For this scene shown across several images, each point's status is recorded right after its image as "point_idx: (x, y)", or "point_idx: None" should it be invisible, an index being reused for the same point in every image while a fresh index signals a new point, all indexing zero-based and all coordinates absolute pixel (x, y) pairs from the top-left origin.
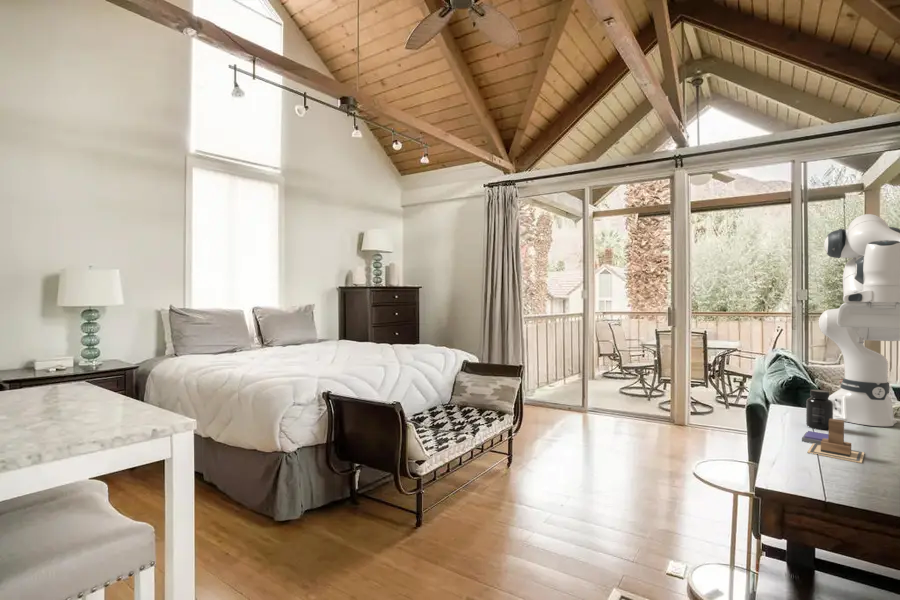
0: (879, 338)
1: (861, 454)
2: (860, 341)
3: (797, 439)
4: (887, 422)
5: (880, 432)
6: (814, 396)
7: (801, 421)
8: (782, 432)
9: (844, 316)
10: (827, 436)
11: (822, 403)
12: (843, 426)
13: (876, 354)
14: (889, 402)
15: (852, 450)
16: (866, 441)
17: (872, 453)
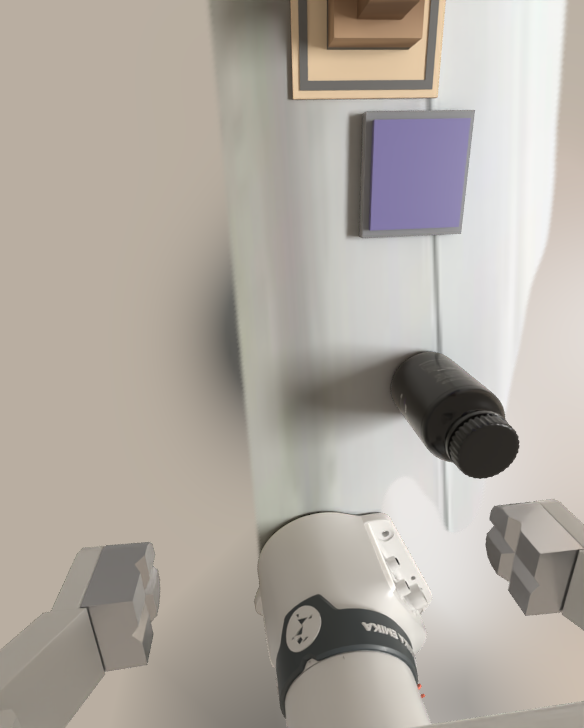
0: None
1: (298, 50)
2: (534, 510)
3: (480, 132)
4: (270, 551)
5: (278, 460)
6: (494, 412)
7: None
8: (522, 206)
9: None
10: (403, 186)
11: (457, 392)
12: None
13: None
14: (272, 633)
15: (325, 85)
16: (300, 301)
17: (272, 127)
